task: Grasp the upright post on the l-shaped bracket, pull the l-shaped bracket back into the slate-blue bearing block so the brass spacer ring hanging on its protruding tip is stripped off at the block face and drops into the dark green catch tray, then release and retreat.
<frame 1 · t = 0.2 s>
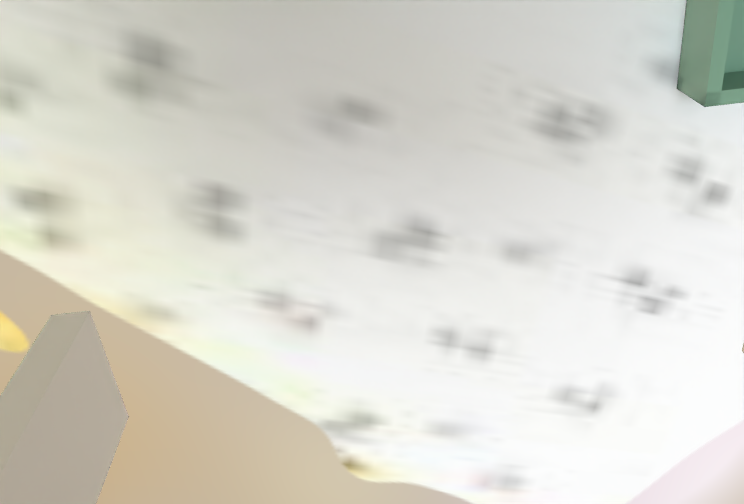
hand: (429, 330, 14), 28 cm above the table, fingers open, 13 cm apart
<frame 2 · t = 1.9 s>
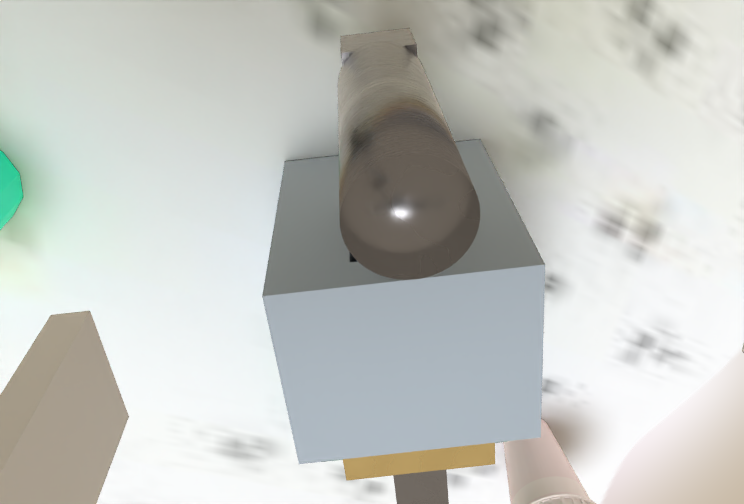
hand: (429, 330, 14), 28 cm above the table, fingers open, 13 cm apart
spacer: (411, 403, 40), point 9 cm above the table, touching l-shaped bracket
l-shaped bracket: (416, 408, 31), point 16 cm above the table, slide at 0.0 cm, touching spacer
bearing block: (389, 222, 45), on the table
smoothie: (525, 431, 55), on the table
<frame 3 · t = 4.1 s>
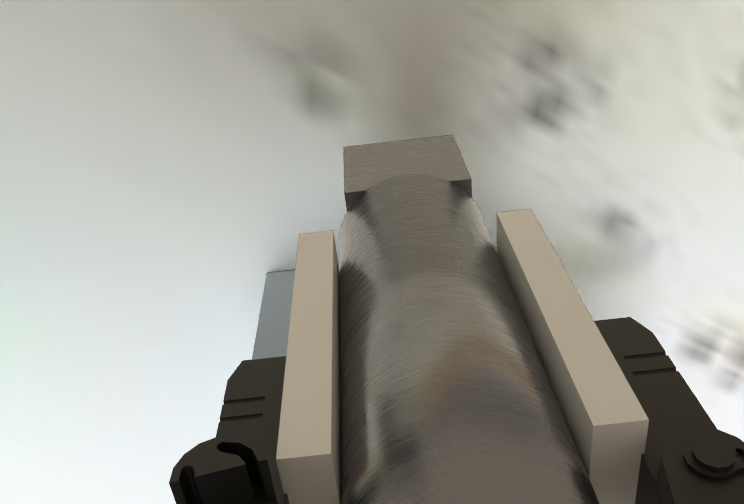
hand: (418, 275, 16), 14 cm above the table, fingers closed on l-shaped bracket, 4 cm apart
bearing block: (407, 346, 34), on the table
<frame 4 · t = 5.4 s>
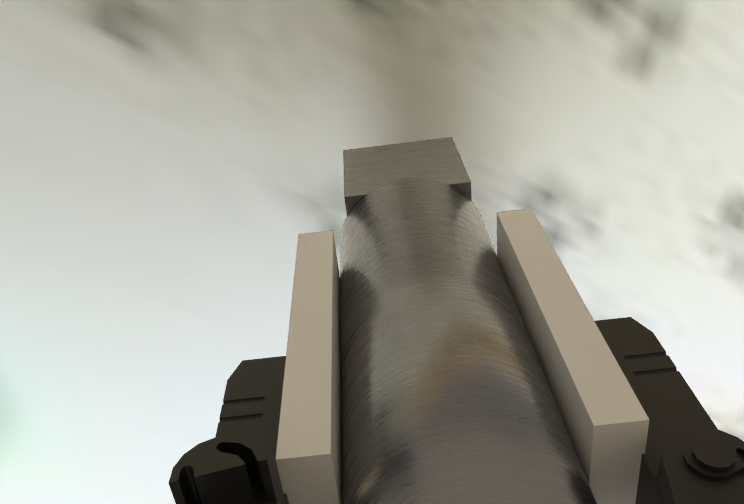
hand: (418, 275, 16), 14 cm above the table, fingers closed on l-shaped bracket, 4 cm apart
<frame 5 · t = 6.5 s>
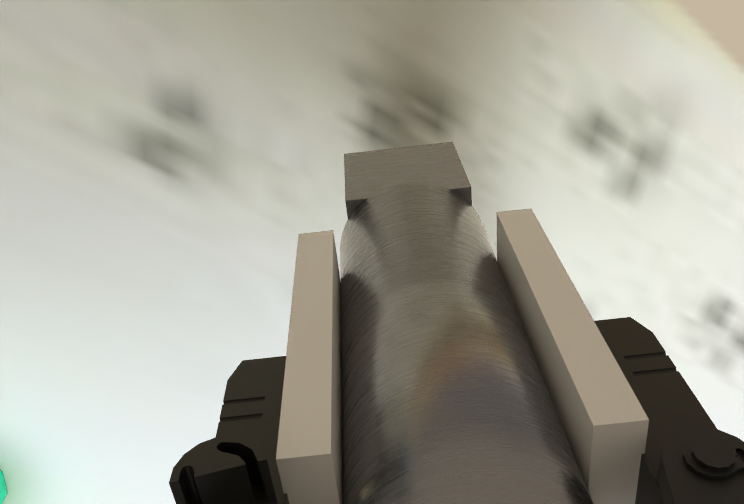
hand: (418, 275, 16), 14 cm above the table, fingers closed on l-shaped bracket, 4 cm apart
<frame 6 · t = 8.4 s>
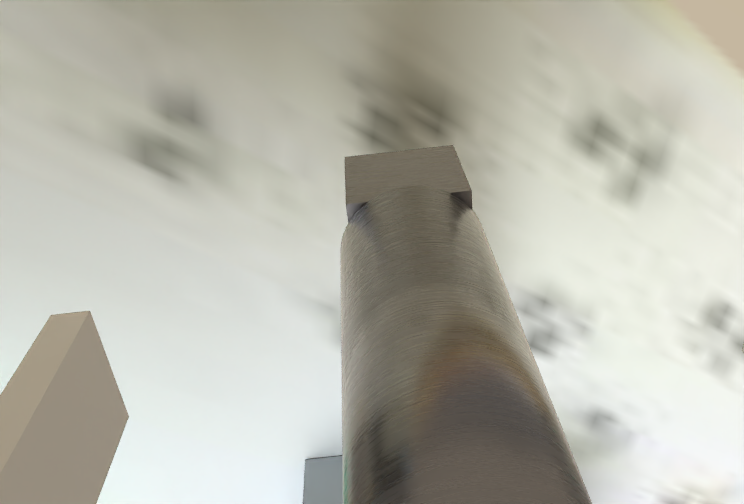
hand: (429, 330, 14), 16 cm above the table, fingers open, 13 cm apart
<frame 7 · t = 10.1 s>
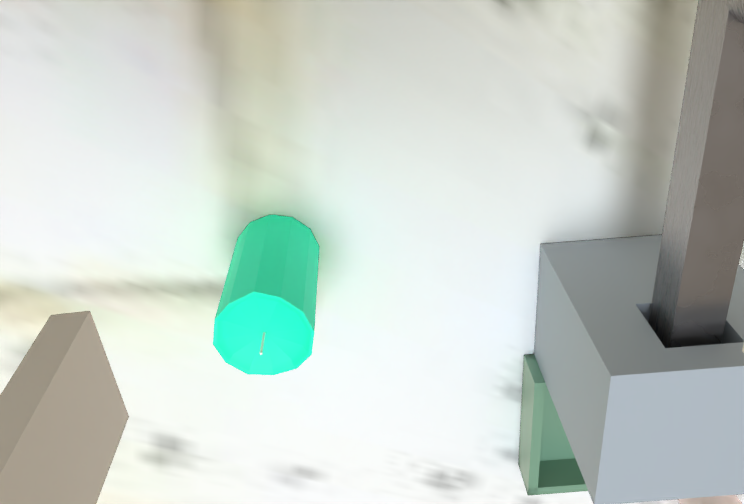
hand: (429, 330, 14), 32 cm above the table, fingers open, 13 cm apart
candle: (278, 250, 50), on the table
tray: (601, 405, 58), on the table
bearing block: (615, 295, 53), on the table
smoothie: (690, 472, 62), on the table
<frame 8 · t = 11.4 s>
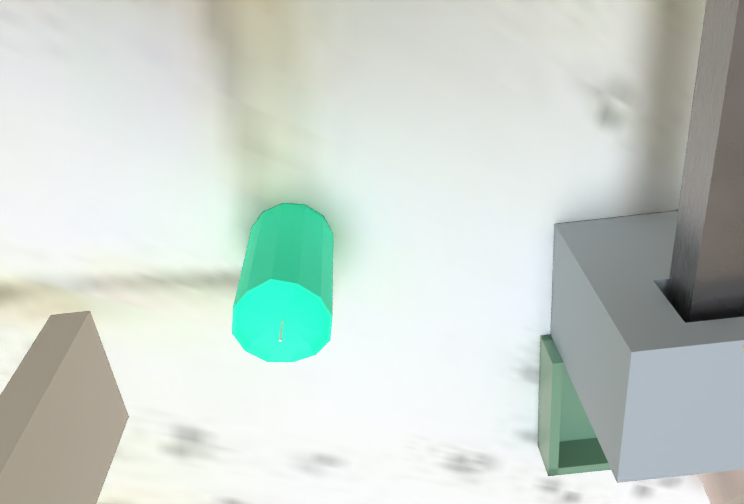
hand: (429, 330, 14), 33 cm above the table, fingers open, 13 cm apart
candle: (292, 239, 50), on the table
tray: (620, 384, 58), on the table
bearing block: (631, 273, 52), on the table
smoothie: (710, 449, 62), on the table
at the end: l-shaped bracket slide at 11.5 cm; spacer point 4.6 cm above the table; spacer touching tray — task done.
